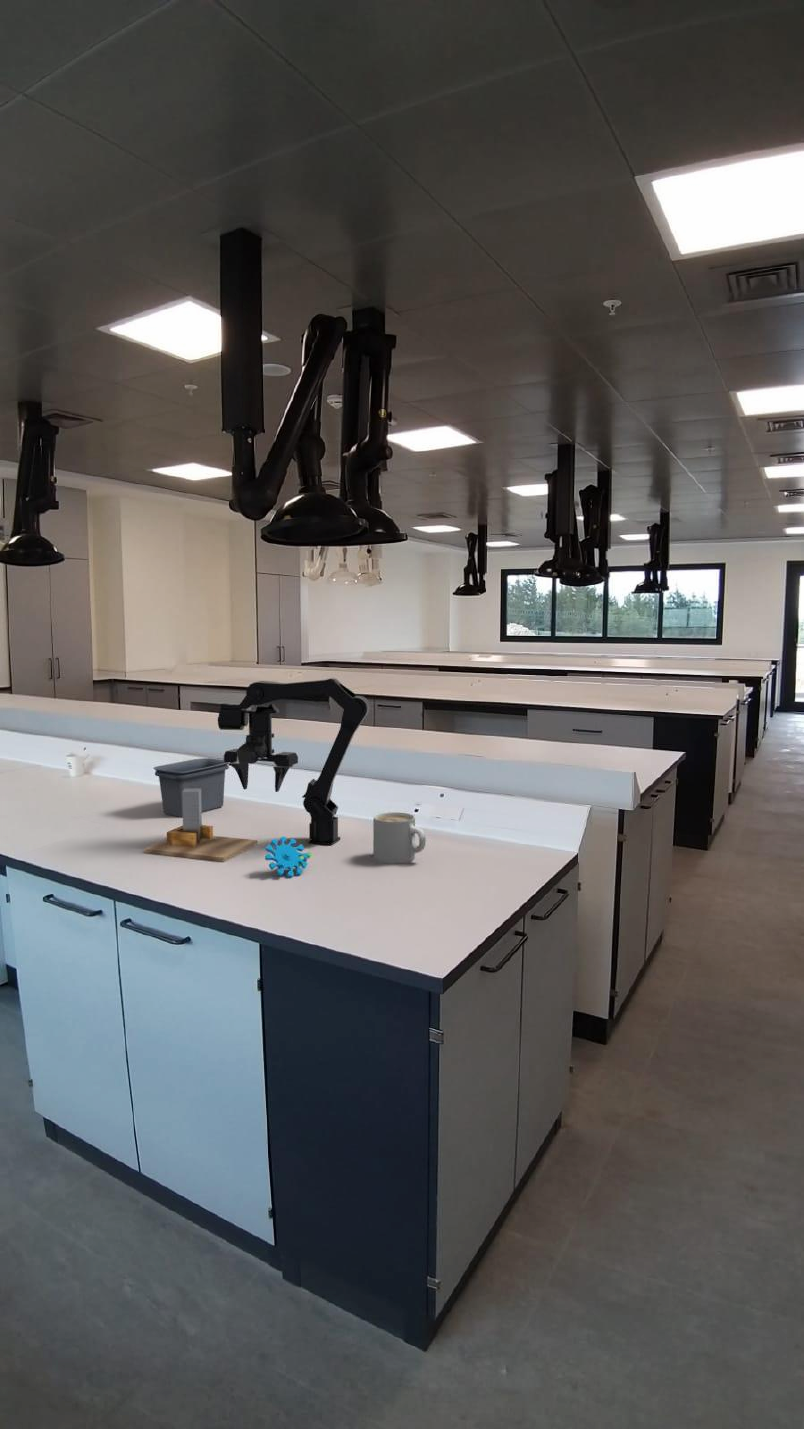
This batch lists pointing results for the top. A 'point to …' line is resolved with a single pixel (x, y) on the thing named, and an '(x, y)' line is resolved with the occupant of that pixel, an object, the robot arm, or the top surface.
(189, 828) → the link bar
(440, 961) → the top surface
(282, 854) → the gear
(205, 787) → the storage bin
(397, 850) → the coffee mug
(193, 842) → the plate
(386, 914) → the top surface
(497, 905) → the top surface
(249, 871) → the top surface
